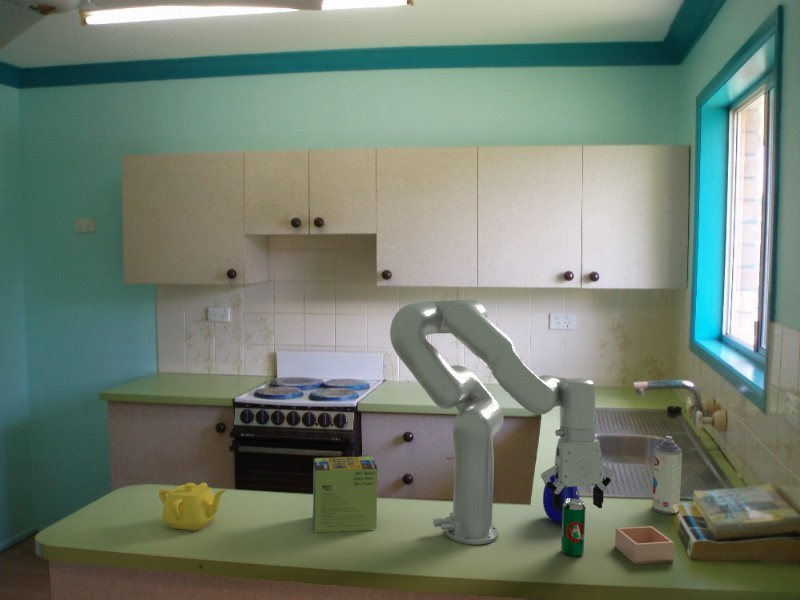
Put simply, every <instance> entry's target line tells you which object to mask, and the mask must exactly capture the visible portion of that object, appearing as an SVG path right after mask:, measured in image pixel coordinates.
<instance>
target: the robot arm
mask: <svg viewBox="0 0 800 600" xmlns="http://www.w3.org/2000/svg"><path fill="white" fill-rule="evenodd" d="M389 330H390V331H389V336H390V337H389V338H390V342H391V345H392V348H393V350H394V352H395V353H396V355H397V357H399V359H400V360H401V361H402V363H403V364H404V366H406V367H407V368H408V370H409V371H410V373H411V374H412V376H413V377H414V378H415V380H416V381H417V382H418V383H419V385H420V386H421V387H422V389H423V390H424V391H425V393H426V394H427V395H428V397H430V399H431V400H432V402H433V403H434V404H435V405H436V406H437V407H439V408H440V409H443V410H444V409H445V410H450V409H454V408H455V409H456V410H457V411H458V413H457V414H456V416H455V418H454V420H453V424H452V431H451V433H452V443H453V491H452V492H453V499H452V500H453V501H452V503H453V504H452V512H449V516H445V518H440V517H438V518H432V520H433V521H432V525H433V527H434V528H440V530H442V531H444V530H445V532H446V536H447V537H448V538H449V539H451V540H453V541H454V542H458V543H461V544H466V545H485V544H486V545H487V544H490V543H494V541H497V539H498V538H499V529H498V528H497V527H496V526H494V525H493V507H494V505H493V504H494V503H493V502H494V501H493V500H494V475H495V474H494V472H495V471H494V468H495V467H494V466H495V462H494V461H495V460H494V459H495V458H494V455H495V454H494V447H493V443H494V442H493V439H494V436H495V435H496V434H497V433H499V431H500V430H501V429H502V427H503V425H504V419H505V418H504V417H505V416H504V413H503V409H502V408H501V406H500V405H499V403H498V401H497V400H496V399H495V398H494V396H493V395H492V394H491V392H490V391H488V389H487V388H486V386H485V385H484V384H483V383H482V382H481V380H480V379H479V378H478V377H477V376H476V374H474V373H473V372H472V370H470V369H468V368H467V367H465V366H463V365H455V364H454V365H450V364H449V362H448V361H447V360H446V359H445V358H444V357H443V356H442V354H441V353H440V352H439V350H438V349H437V347H435V346H434V345H432V344H431V343H430V342H429V340H428V339H427V338H426V336H428V335H435V334H451V335H453V336H454V337H455V339H457V340H458V341H459V342H460V343H461V344H462V345H463V346H464V347H466V349H468V350H469V351H470V352H471V353H472V354H473V355H475V357H477V358H478V359H479V360H480V361H481V362H482V363H484V365H485V366H486V368H487V369H488V370H489V373H490V374H491V375H492V376H493V377H494V379H495V380H496V381H497V383H498V384H499V386H500V387H501V388H502V389H503V390H504V392H506V393H507V394H508V395H509V396H510V397H511V398H512V399H513V400H515V401H516V402H517V403H518V404H519V405H520V406H521V407H523V408H524V409H525V410H527V411H528V412H530V413H531V414H535V415H545V414H547V413H550V412H551V411H552V410H553V409H554V408H556V407H560V426H559V429H555V432H554V433H555V436H556V437H560V438H558V440H557V444H556V448H555V457H554V465H553V466H552V467H550V468H548V469H547V470H545V471H543V472H541V474H540V477H541V479H542V481H543V482H544V486H545V485H546V486H547V487H548V488H549V489H550V490H551V491H552V505H553V506H554V508H555V509H556V510H557V511H558V512H561V511H562V494H560V492H561V490H562V489H563V488H564V486H566V487H575V486H577V487H585V486H586V487H587V486H593V488H592V504H593V505H594V506H595V507H597V508H598V509H602V508H603V503H604V491H606V489H607V487H608V485H610V484H611V480H612V478H613V476H614V474H615V470H614V469H613V468H612V467H609V466H607V465H605V464H604V463H603V456H602V451H601V443H600V440H599V439H598V438H596V386H595V383H594V382H593V381H592V380H591V379H587V378H577V377H575V378H574V377H573V378H565V377H560V376H554V375H550V374H548V375H547V374H543V375H539V376H537V374H535V373H534V372H533V371H532V370H531V369H530V368H529V367H527V365H525V363H524V362H523V361H522V360H521V358H520V356H519V355H518V353H517V352H516V349H515V345H514V343H513V341H512V339H511V337H509V336H508V335H507V334H506V333H505V332H504V331H503V330H502V329H500V328H499V327H498V326H497V325H496V324H494V323H493V322H492V321H491V320H490V319H489V318H488V312H487V310H486V308H485V307H484V305H482V303H481V302H479V301H477V300H476V299H475V300H474V299H460V300H459V299H457V300H428V301H427V300H426V301H420V302H419V301H418V302H414V303H413V302H412V303H409V304H406V305H404V306H402V307H401V308H400V309H398V310H397V312H395V314H394V316H393V318H392V320H391V324H390V329H389ZM552 475H555V479H556V480H555V481H554V483H553V484H552V483H551V481H550V477H551V476H552Z"/></svg>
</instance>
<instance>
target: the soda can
mask: <svg viewBox="0 0 800 600" xmlns="http://www.w3.org/2000/svg"><path fill="white" fill-rule="evenodd" d="M586 509H587V508H586V506H585V502H584V501H583V500H581V499H580V500H579V499H573V498H570V499H566V500H565V502H564V504H563V511H562V523H561V539H560V540H561V541H560V542H561V544H560V545H561V546H560V547H561V548H560V550H561V551H562V553H563V554H564V555H565V556H569V557H574V558H576V557H581V556H582V555H584V553H585V535H586V534H585V533H586V527H585V526H586Z"/></svg>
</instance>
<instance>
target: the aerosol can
mask: <svg viewBox="0 0 800 600" xmlns="http://www.w3.org/2000/svg"><path fill="white" fill-rule="evenodd" d="M682 458H683V452H682V448H681V447H680V446H678V444H676V442H675V441H674V440H673V436H671V435H665V439H664V440H663V441H662V442H659V444H657V445H655V448H654V459H653V481H652V483H653V485H652V501H651V502H652V503H651V504H652V505H651V508H652V510H653V511H655V512H657V513H659V514H660V513H661V514H664V515H672V514H671V509H672V506H673V505H674V504H678V503H681V502H680V501H681V481H682V463H683V462H682V460H683V459H682Z"/></svg>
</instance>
